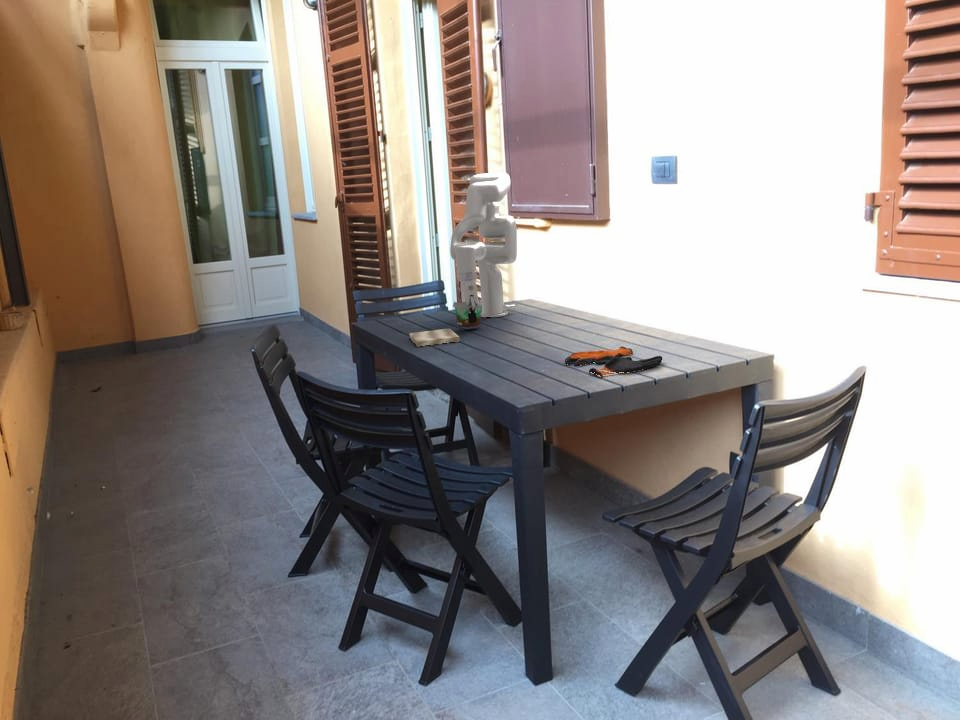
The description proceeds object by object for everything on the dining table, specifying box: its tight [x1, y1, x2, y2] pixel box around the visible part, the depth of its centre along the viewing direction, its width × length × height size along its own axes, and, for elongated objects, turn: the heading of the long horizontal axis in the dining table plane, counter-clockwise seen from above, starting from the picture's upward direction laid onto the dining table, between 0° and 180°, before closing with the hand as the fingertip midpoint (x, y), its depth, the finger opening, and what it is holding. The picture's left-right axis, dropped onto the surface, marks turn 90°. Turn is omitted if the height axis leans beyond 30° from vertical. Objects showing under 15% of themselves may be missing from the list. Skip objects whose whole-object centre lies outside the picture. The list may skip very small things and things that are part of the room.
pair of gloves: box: [564, 346, 663, 376], centre depth 243 cm, size 27×24×3 cm
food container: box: [452, 298, 483, 328], centre depth 311 cm, size 12×6×10 cm, turn 111°
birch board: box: [409, 327, 461, 348], centre depth 299 cm, size 16×18×2 cm
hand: (471, 320), depth 313 cm, fingers closed on food container, 5 cm apart
